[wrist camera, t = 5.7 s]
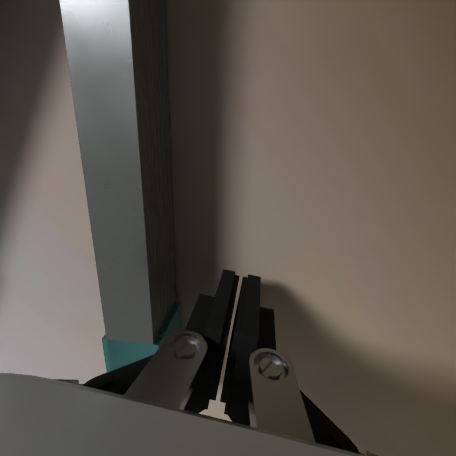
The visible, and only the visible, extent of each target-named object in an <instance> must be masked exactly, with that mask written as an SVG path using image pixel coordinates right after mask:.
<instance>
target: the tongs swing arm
mask: <svg viewBox="0 0 456 456" xmlns="http://www.w3.org/2000/svg"><path fill="white" fill-rule="evenodd" d="M60 8H61V15H62V22H63V29H64V36H65V44H66V51H67V58H68V65H69V72H70V80H71V87H72V94H73V101H74V108H75V116H76V123H77V130H78V137H79V144H80V152H81V159H82V166H83V173H84V180H85V188H86V195H87V202H88V209H89V216H90V224H91V231H92V238H93V245H94V252H95V260H96V267H97V274H98V281H99V288H100V296H101V303H102V310H103V317H104V324H105V332H106V334H105V336H104V337H103V338H102V342H103V349H104V356H105V363H106V370H107V372H110V371H112V370H115V369H118V368H120V367H123V366H125V365H128V364H130V363H133V362H136V361H138V360H141V359H143V358H146V357H148V356H151V355H154V354H155V352H156V351H157V350H158V348H159V347H160V346H161V344H162V343H163V342H164V340H165V339H166V338H167V337H168V336H169V335H170V334H172V333H174V332H176V331H181V312H180V303H177V302H176V280H175V254H174V228H173V201H172V175H171V149H170V123H169V96H168V70H167V44H166V18H165V0H60Z"/></svg>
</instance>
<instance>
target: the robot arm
mask: <svg viewBox="0 0 456 456" xmlns="http://www.w3.org/2000/svg"><path fill="white" fill-rule="evenodd" d="M238 281H239V276H237V275H235V272H234V271H229V270H223V273H222V276H221V279H220V283H219V286H218V289H217V292H216V295H215V297H212V296H208V295H203V294H200V296H199V298H198V300H197V303H196V305H195V307H194V310H193V312H192V315H191V317H190V319H189V322H188V324H187V327H186V329H185V330H181V331H176V332H174V333H172V334H170V335H169V336H168V337H167V338H166V339H165V340H164V342H163V343H162V344H161V346H160V347H159V348H158V350H157V351H156V352H155V354H154V355H151V356H148V357H146V358H143V359H141V360H138V361H136V362H133V363H130V364H128V365H125V366H123V367H120V368H118V369H115V370H112V371H110V372H107V373H105V374H102V375H100V376H97V377H95V378H93V379H91V380H89V381H88V382H86V383H85V384H79V380H64V379H48V378H43V377H37V376H32V375H23V374H13V373H0V456H377V455H375V454H373V453H370V452H368V451H366V452H365V454H362V453H360V452H359V451H358V449H357V447H356V446H355V445H354V444H353V442H352V441H351V440H350V439H349V438H348V437H347V436H346V435H345V434H344V433H343V432H342V431H341V430H340V429H339V428H338V427H337V426H336V425H335V424H334V423H333V422H332V421H331V420H330V419H329V418H328V417H327V416H326V415H325V414H324V413H323V412H322V411H321V410H320V409H319V408H318V407H317V406H316V405H315V404H314V403H313V402H312V401H311V400H310V399H309V398H308V397H307V396H306V395H305V394H304V393H303V392H302V391H301V390H300V389H299V386H298V383H297V379H296V376H295V373H294V369H293V367H292V365H291V362H290V361H289V360H288V359H287V358H286V357H285V356H284V355H283V354H281V353H280V352H278V351H276V341H275V323H274V310H273V309H268V308H263V307H260V277H258V276H253V275H248V278H247V277H243V280H242V285H241V290H240V295H239V300H238V304H237V309H236V314H235V319H234V324H233V329H232V334H231V340H230V346H229V352H228V358H227V364H226V370H225V376H224V382H223V388H222V394H221V400H220V402H224V403H226V405H225V412H224V414H227V415H228V416H229V417H230V419H231V420H232V422H231V421H227V420H223V419H219V418H215V417H211V416H207V415H203V414H199V412H201V411H203V410H204V409H208V404H209V400H210V399H211V400H216V395H217V390H218V385H219V380H220V375H221V370H222V365H223V360H224V355H225V350H226V345H227V340H228V335H229V330H230V325H231V319H232V314H233V308H234V303H235V298H236V292H237V287H238Z"/></svg>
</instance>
